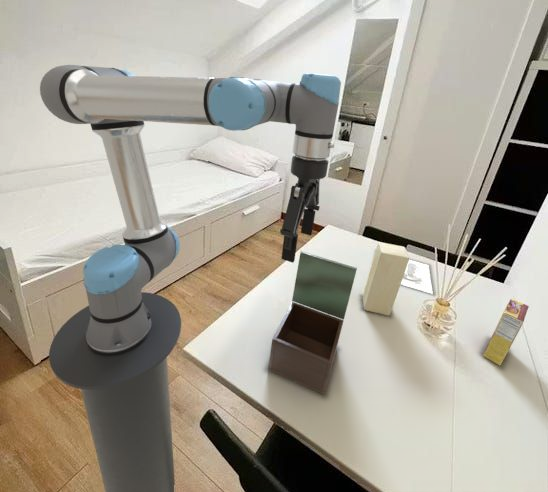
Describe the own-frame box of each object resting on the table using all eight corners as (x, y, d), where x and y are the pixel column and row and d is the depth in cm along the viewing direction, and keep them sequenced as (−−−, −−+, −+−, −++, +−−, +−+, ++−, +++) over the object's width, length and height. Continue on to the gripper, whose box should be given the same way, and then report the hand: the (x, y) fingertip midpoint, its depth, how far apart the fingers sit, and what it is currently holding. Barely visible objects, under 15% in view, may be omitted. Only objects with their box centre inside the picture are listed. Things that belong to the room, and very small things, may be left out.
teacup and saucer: (396, 276, 109) (399, 267, 107) (396, 265, 115) (399, 256, 114) (421, 283, 106) (424, 274, 104) (420, 272, 113) (423, 263, 111)
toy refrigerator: (387, 300, 96) (404, 245, 87) (390, 316, 89) (409, 258, 81) (362, 294, 97) (377, 240, 89) (363, 310, 90) (380, 252, 82)
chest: (324, 395, 64) (332, 364, 60) (268, 369, 68) (272, 339, 65) (336, 348, 76) (343, 320, 72) (287, 329, 80) (292, 301, 76)
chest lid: (356, 269, 66) (357, 267, 67) (300, 252, 71) (301, 251, 72) (343, 319, 72) (344, 317, 72) (291, 301, 76) (292, 299, 77)
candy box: (489, 338, 84) (511, 297, 78) (507, 348, 82) (531, 306, 76) (481, 355, 79) (504, 311, 73) (499, 366, 76) (525, 322, 70)
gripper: (311, 174, 48) (295, 280, 56) (340, 149, 69) (325, 228, 77) (269, 166, 50) (260, 268, 58) (309, 144, 72) (299, 221, 80)
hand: (297, 245), depth 68 cm, fingers open, 13 cm apart
